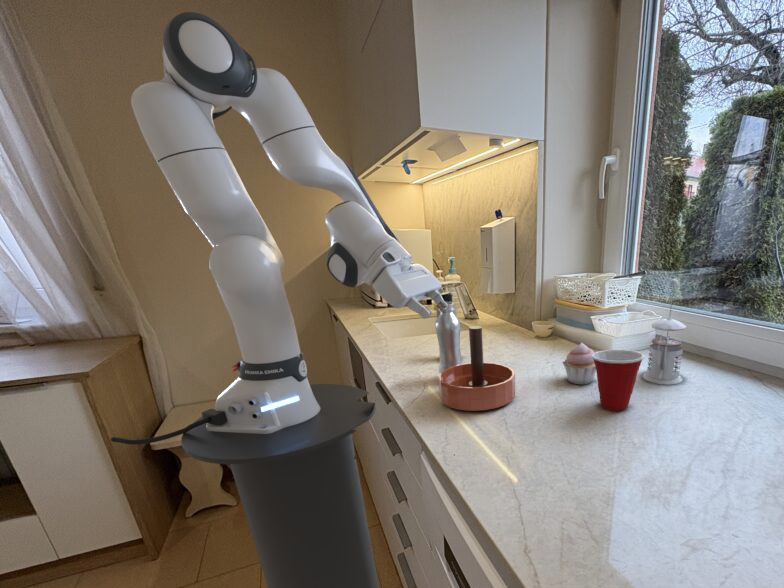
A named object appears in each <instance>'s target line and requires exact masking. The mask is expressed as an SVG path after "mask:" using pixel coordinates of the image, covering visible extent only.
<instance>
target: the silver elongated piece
mask: <svg viewBox="0 0 784 588" xmlns="http://www.w3.org/2000/svg"><path fill="white" fill-rule="evenodd" d="M446 303H447V304H448V307H447V308H446V309H445V310H443V311H440V309H439V308H438V309H439V311H440V315H439V316H438V318H437V317H436V319H435V322H434V330H435V335H436V337H437V343H438V350H439V362H438V363H439V364H438V373H439V374H440V373H441V372H442V371H443V370H445V369H447V368H449V367H452V366H456V365H460V364H464V363H463V361H462V359H463V358H462V353H461V327H462V324H461V320H460V319H459V317H458V316H456V315H455V314H454V312H453V311H454V310H455V309H456V308H455V304H454V302H453V301H452V302H446ZM454 308H455V309H454ZM439 374H438V375H439Z"/></svg>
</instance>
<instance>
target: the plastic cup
mask: <svg viewBox="0 0 784 588" xmlns="http://www.w3.org/2000/svg"><path fill="white" fill-rule="evenodd" d="M592 358H593V360H594V363H595V367H596V372H595V373H596V378H597V380H596V381H597V389H598V393H599V403H600V406H601V407H602V408H603V409H605V410H608V411H611V412H612V411H615V412H621V411H624V410H626V409H627V408H628V406H629V404H630V401H631V397H632V395H633V392H634V388H635V384H636V380H637V377H638V373H639V371H640V367H641V364H642V361H643V360H644V358H645V354H643V353H642V352H639V351H635V350H628V349H604V350H599V351H596V352H595V351H594V353H593V354H592Z"/></svg>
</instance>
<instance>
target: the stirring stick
mask: <svg viewBox="0 0 784 588" xmlns="http://www.w3.org/2000/svg"><path fill="white" fill-rule="evenodd" d="M468 335H469V336H468V337H469V350H470V351H469V353H470V363H471V373H472V381H470V382H469V387H484V386H488V382H487V381H485V380H484V366H483V362H484V347H483V345H484V344H483V343H484V342H483V327H482V326H480V325H472V326H469V327H468Z"/></svg>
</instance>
